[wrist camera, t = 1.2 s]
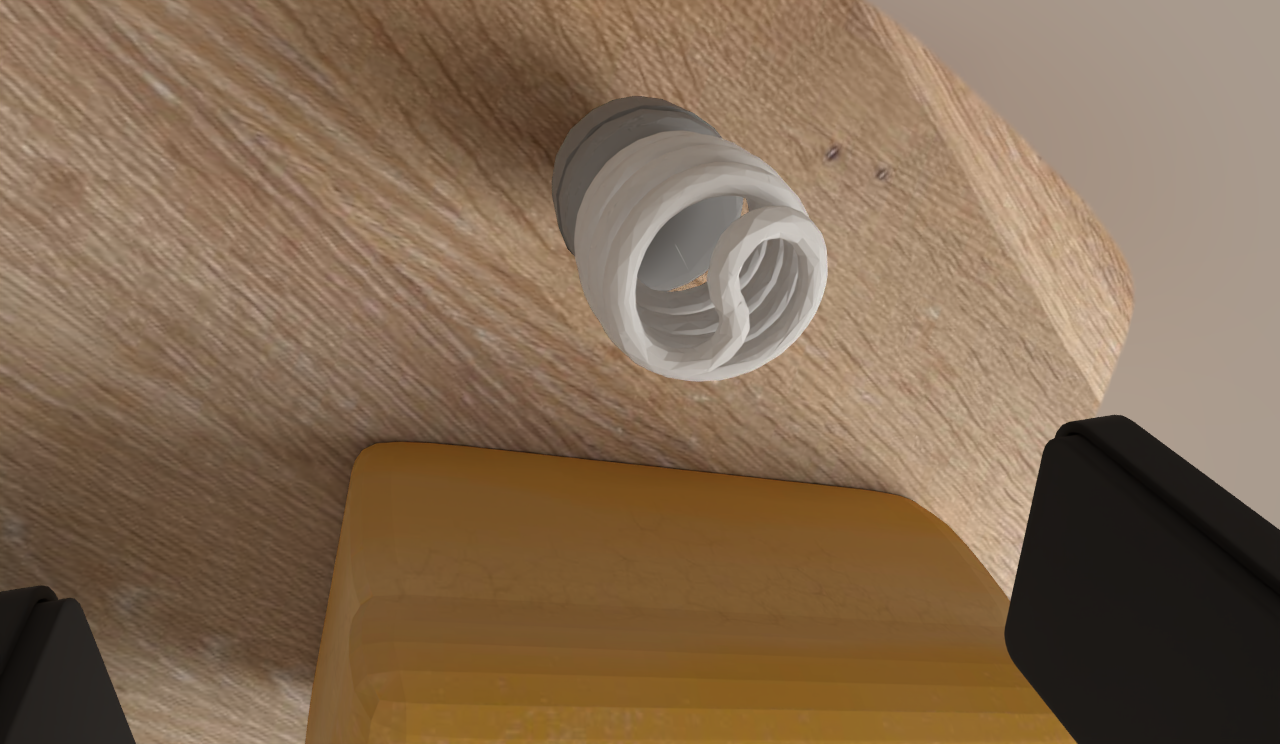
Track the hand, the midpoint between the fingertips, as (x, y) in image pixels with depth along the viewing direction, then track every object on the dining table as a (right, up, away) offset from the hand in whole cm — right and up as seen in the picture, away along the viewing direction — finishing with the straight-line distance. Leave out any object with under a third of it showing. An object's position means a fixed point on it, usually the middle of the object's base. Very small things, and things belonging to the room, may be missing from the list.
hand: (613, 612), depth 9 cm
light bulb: (-1, +9, +22) cm, 24 cm away
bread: (0, -7, +31) cm, 32 cm away
